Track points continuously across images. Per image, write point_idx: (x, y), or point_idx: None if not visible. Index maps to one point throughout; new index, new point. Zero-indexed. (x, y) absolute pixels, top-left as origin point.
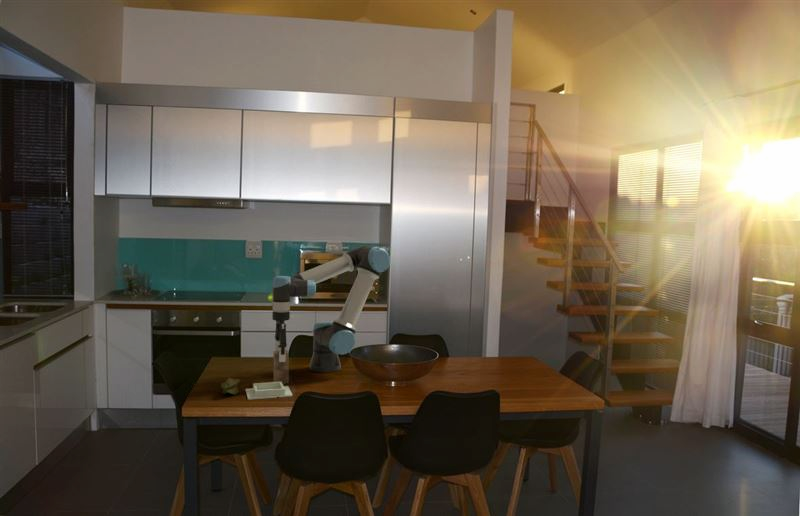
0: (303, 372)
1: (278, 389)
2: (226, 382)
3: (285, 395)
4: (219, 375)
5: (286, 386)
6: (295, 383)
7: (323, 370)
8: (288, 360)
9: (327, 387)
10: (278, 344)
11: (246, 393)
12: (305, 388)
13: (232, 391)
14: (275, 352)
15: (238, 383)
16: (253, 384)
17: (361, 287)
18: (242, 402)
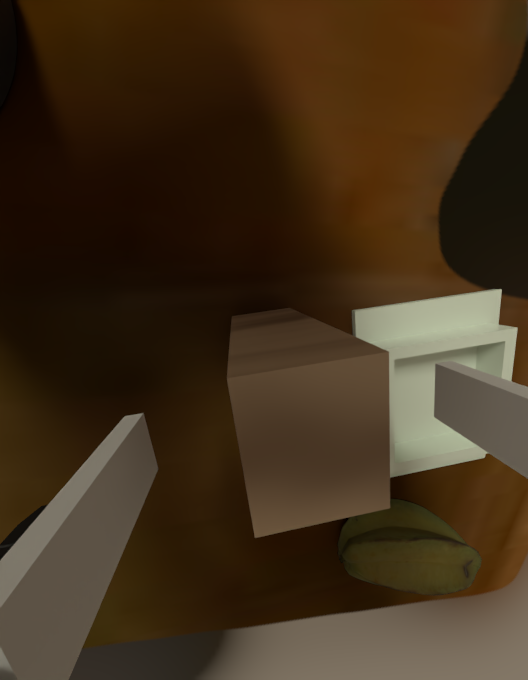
0: (24, 208)
1: (512, 358)
2: (466, 584)
3: (497, 321)
4: (111, 607)
5: (362, 318)
6: (286, 270)
7: (5, 27)
8: (341, 332)
9: (399, 81)
10: (79, 576)
11: (411, 470)
12: (388, 220)
13: (438, 524)
14: (338, 508)
15: (407, 531)
16: (400, 470)
17: None
18: (500, 466)
